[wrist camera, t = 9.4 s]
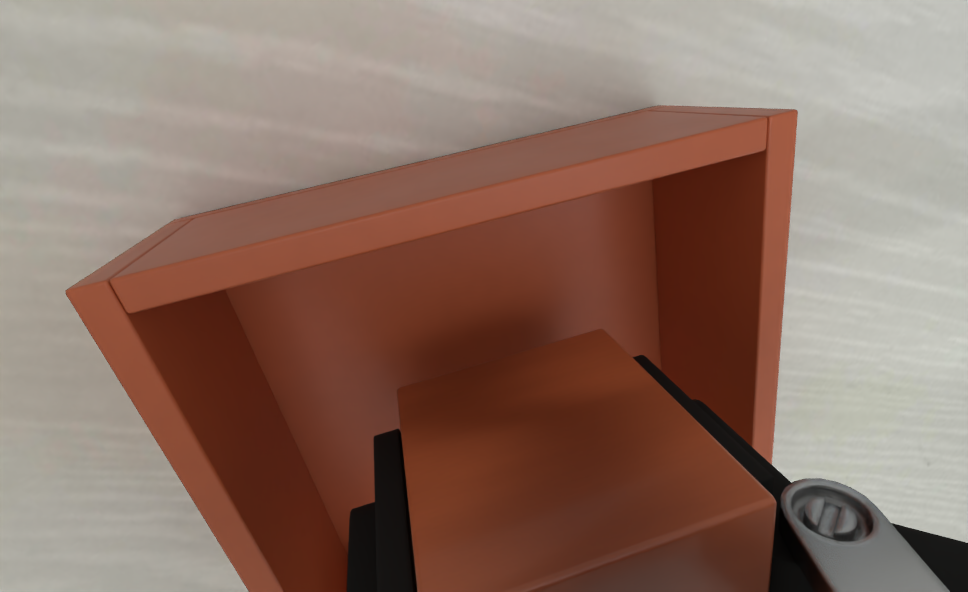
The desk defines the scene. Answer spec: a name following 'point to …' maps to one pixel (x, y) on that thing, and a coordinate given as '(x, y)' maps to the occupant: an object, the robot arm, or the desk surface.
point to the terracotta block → (574, 481)
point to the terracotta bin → (441, 307)
